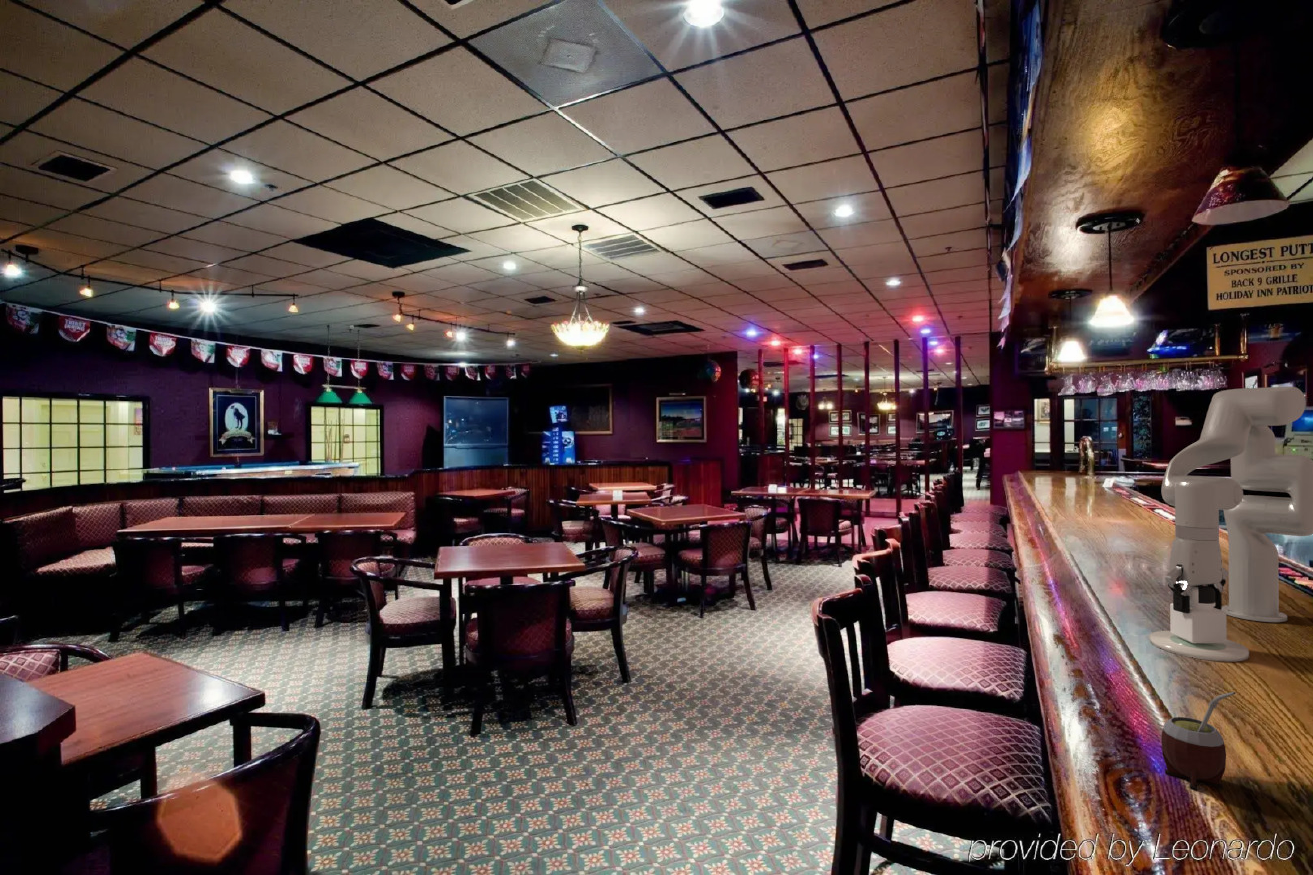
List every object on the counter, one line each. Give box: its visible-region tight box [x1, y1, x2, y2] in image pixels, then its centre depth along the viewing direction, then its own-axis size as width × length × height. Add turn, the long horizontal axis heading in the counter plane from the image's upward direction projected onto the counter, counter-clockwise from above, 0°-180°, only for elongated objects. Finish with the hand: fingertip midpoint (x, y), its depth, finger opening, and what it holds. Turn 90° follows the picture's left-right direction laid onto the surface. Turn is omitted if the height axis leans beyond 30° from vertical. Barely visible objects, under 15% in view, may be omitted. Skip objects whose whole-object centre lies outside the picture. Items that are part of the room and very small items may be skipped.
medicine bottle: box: [1169, 585, 1228, 644], centre depth 143 cm, size 7×7×12 cm
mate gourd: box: [1161, 691, 1237, 792], centre depth 89 cm, size 8×8×15 cm
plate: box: [1149, 630, 1250, 663], centre depth 143 cm, size 17×17×1 cm
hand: (1197, 609), depth 143 cm, fingers closed on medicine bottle, 8 cm apart
